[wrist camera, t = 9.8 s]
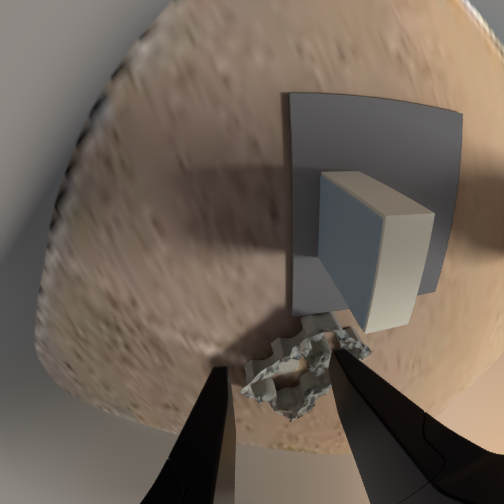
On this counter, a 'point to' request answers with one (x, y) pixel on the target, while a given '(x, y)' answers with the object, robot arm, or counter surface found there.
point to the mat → (373, 165)
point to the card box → (372, 247)
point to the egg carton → (291, 350)
